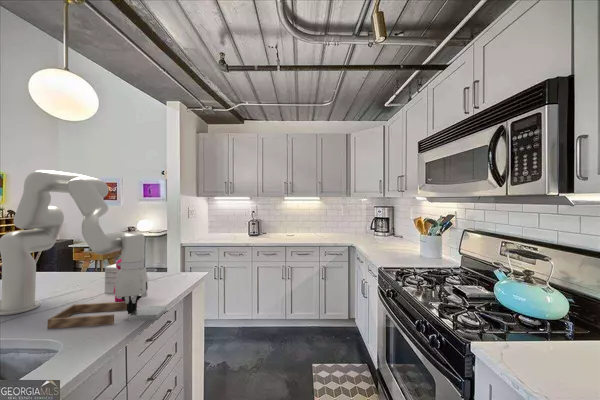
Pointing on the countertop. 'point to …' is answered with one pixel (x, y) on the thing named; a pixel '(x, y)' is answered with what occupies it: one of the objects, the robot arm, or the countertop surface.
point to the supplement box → (110, 278)
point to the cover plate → (147, 313)
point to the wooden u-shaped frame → (66, 321)
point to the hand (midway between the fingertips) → (131, 312)
